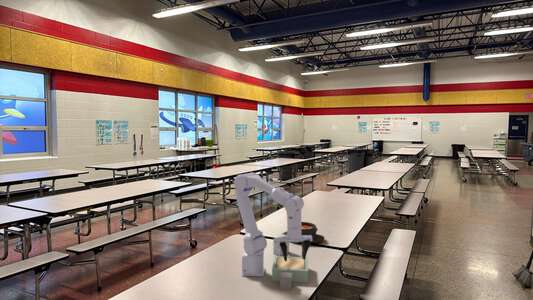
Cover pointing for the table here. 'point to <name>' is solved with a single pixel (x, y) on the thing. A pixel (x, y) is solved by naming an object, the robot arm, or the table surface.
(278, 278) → the trapdoor frame
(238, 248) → the table surface
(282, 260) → the trapdoor
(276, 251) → the medicine box
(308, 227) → the casserole
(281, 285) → the gray block
